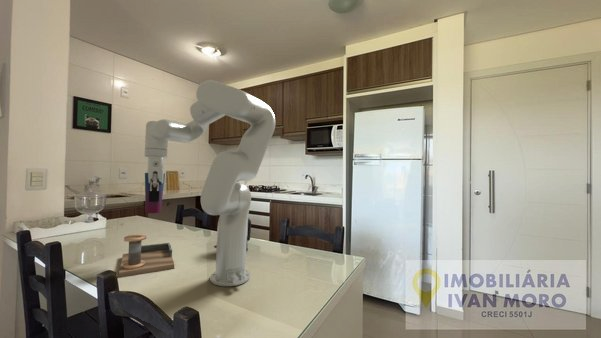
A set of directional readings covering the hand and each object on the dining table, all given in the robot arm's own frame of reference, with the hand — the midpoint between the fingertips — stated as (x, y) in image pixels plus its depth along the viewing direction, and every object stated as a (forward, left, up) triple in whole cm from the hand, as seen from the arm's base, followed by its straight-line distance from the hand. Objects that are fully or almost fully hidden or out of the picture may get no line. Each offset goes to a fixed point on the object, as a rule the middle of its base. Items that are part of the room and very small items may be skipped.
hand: (153, 200), depth 96 cm
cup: (0, 0, -5) cm, 5 cm away
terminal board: (-3, +1, -23) cm, 23 cm away
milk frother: (+1, -31, -23) cm, 39 cm away
